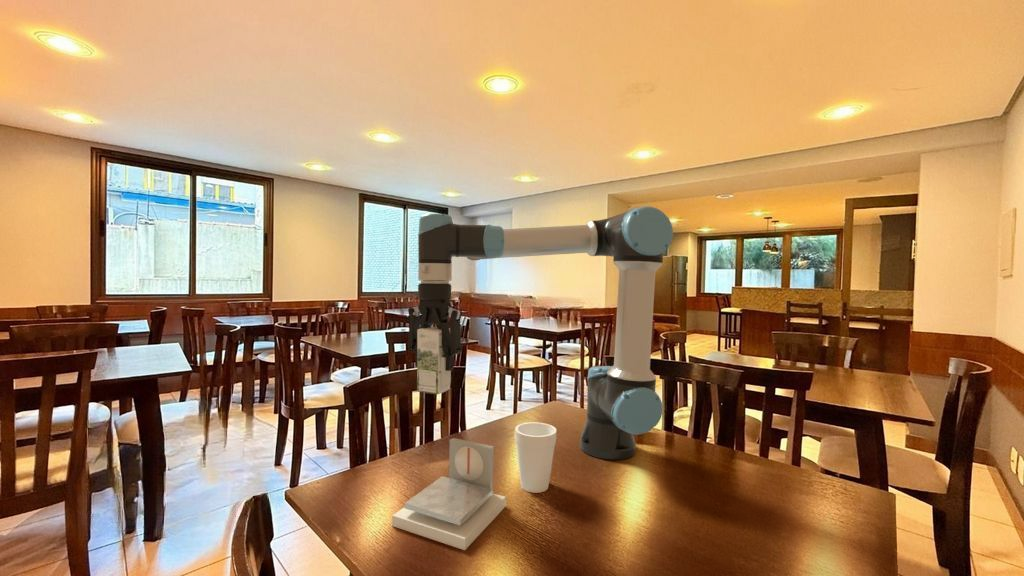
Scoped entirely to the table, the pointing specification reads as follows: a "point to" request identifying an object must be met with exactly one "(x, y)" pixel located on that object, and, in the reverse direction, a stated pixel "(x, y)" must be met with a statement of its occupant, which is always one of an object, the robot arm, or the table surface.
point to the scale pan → (449, 500)
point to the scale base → (469, 467)
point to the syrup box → (429, 361)
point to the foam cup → (535, 454)
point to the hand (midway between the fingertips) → (433, 382)
